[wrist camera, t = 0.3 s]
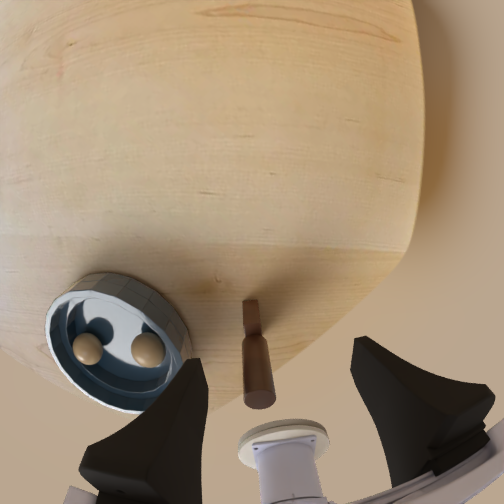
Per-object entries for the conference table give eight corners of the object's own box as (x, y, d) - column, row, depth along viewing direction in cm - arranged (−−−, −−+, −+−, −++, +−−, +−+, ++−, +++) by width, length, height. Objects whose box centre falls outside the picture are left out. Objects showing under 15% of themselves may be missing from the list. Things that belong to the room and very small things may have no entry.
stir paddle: (264, 335, 23) (277, 416, 14) (243, 337, 23) (247, 419, 14) (261, 298, 21) (274, 376, 13) (238, 301, 21) (239, 380, 13)
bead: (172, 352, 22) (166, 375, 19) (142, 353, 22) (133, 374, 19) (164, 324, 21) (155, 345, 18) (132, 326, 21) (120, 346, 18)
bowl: (205, 387, 24) (202, 416, 20) (95, 383, 24) (82, 406, 20) (174, 262, 20) (160, 283, 16) (49, 276, 20) (25, 293, 16)
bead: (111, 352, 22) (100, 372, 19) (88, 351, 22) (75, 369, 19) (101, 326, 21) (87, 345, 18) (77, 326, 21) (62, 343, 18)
